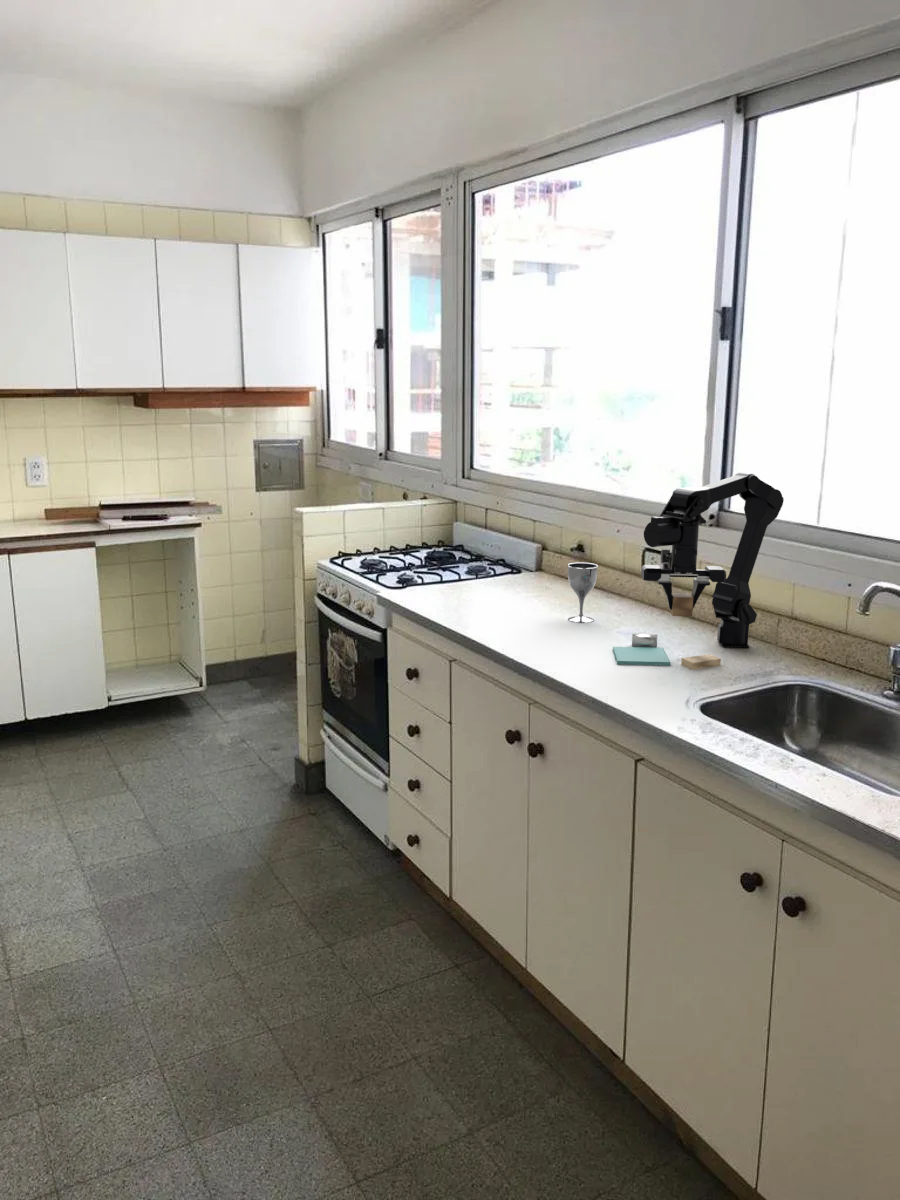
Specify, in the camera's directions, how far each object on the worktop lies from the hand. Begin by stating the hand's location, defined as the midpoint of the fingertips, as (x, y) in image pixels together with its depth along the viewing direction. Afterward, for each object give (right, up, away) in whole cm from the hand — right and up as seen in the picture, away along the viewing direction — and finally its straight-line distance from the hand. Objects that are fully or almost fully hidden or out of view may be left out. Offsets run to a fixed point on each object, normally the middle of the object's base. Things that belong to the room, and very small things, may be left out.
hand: (680, 609), depth 229 cm
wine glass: (-19, -3, +35) cm, 40 cm away
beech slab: (+3, -13, -5) cm, 14 cm away
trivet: (-9, -11, +1) cm, 15 cm away
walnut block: (0, -1, 0) cm, 1 cm away
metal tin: (-7, -9, +10) cm, 15 cm away
